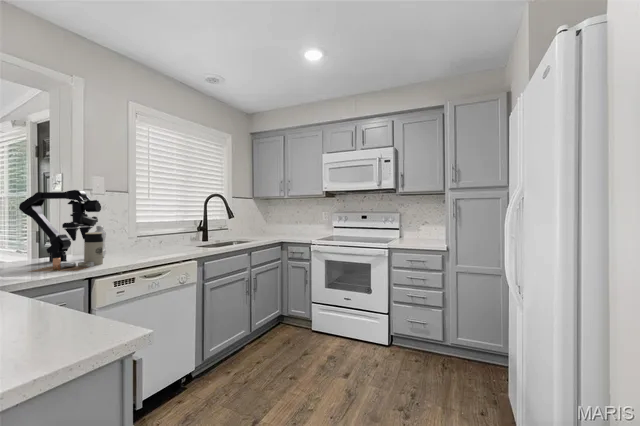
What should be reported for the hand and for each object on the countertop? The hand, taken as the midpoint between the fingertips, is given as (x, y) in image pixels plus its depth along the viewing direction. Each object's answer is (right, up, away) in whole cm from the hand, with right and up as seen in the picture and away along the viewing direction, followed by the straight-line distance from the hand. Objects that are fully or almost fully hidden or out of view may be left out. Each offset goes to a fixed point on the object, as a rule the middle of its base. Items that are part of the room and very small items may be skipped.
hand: (79, 240), depth 171 cm
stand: (+10, -13, -23) cm, 28 cm away
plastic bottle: (-4, -13, +22) cm, 26 cm away
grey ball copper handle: (+10, -12, -23) cm, 28 cm away
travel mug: (+15, -14, -10) cm, 23 cm away
